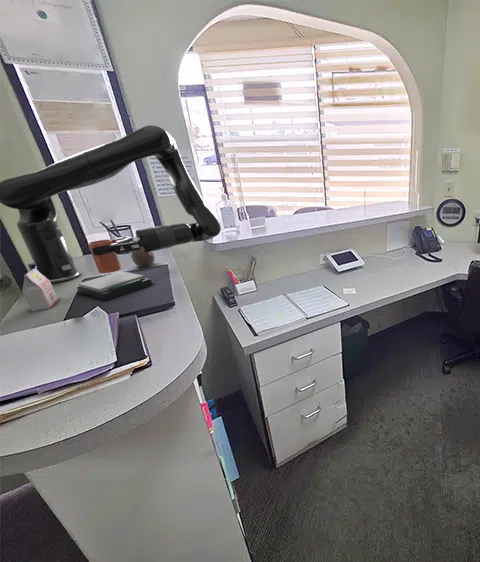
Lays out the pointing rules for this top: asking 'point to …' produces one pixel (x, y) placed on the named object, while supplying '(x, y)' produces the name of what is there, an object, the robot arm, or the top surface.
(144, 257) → the brown coconut
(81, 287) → the scale
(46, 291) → the milk carton
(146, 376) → the top surface
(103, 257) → the cup
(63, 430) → the top surface
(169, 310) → the top surface
